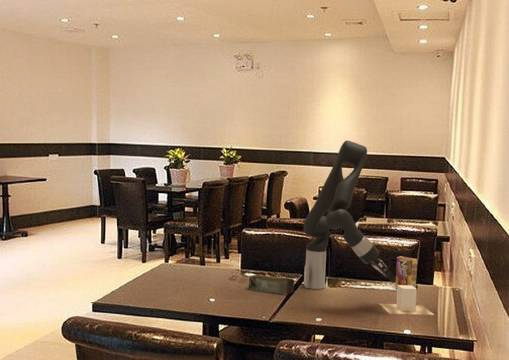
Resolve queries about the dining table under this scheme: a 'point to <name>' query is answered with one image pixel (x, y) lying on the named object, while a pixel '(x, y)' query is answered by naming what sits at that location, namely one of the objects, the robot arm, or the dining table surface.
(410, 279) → the candy box
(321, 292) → the dining table surface
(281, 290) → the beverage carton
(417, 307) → the board
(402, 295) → the white upright block
